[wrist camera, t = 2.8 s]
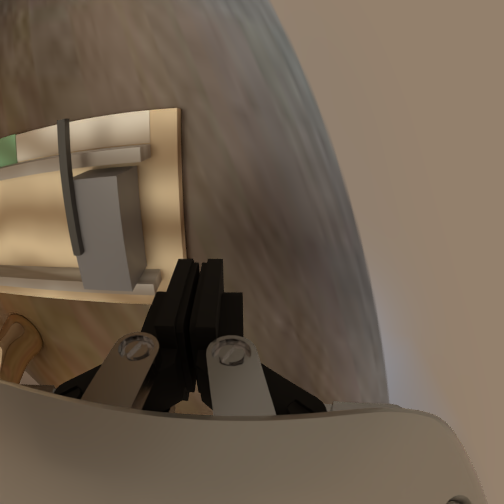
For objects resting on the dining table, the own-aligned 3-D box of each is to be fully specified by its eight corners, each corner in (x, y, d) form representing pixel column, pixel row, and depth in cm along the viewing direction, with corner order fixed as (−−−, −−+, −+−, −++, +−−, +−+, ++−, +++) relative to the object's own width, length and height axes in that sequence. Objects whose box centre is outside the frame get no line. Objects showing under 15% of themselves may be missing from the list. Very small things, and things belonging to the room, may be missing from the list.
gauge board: (190, 295, 27) (178, 343, 21) (-9, 284, 26) (-39, 313, 20) (180, 107, 20) (158, 102, 14) (-37, 152, 19) (-77, 166, 13)
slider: (147, 265, 23) (130, 296, 19) (103, 264, 23) (81, 293, 19) (135, 111, 18) (109, 110, 14) (87, 118, 18) (54, 121, 14)
